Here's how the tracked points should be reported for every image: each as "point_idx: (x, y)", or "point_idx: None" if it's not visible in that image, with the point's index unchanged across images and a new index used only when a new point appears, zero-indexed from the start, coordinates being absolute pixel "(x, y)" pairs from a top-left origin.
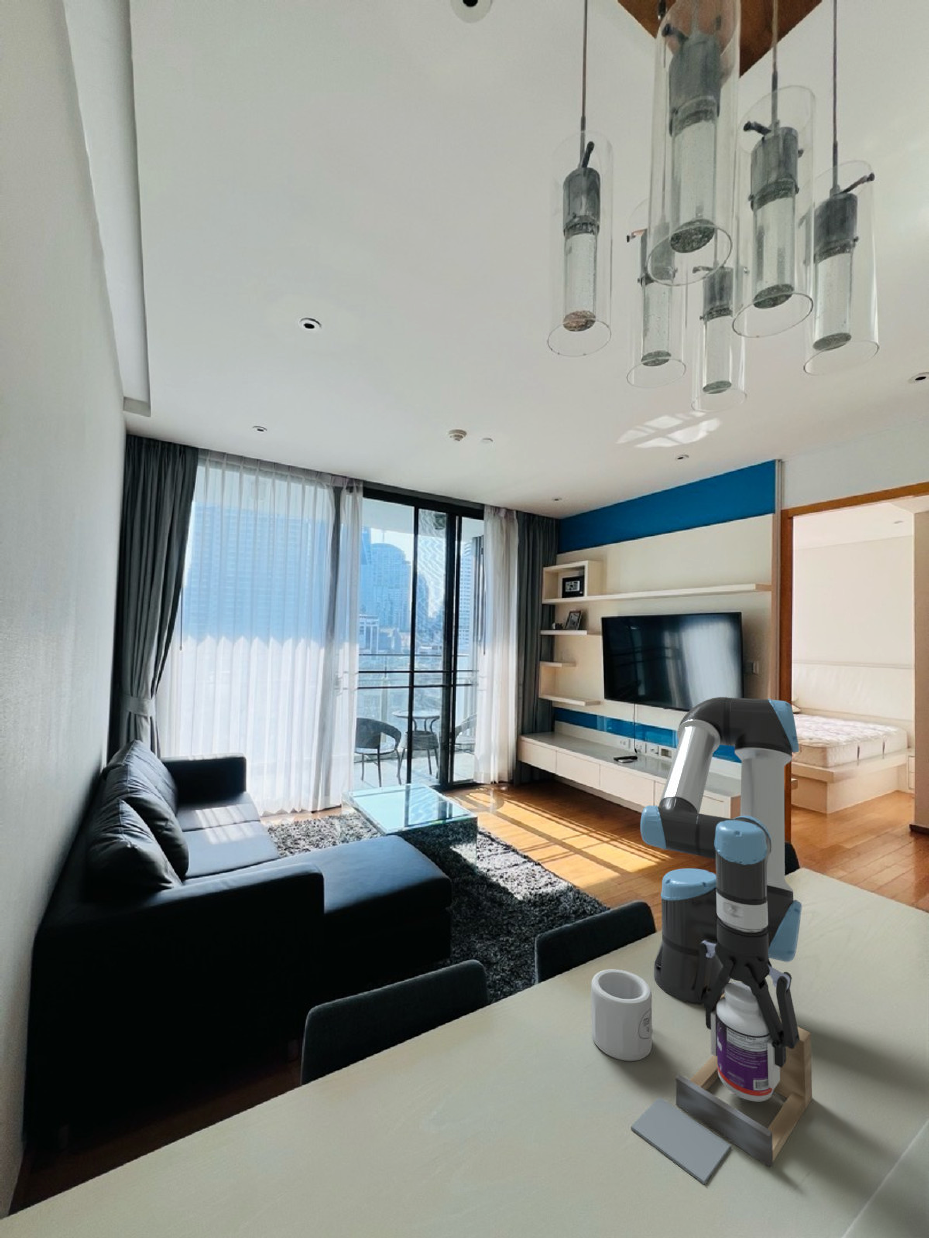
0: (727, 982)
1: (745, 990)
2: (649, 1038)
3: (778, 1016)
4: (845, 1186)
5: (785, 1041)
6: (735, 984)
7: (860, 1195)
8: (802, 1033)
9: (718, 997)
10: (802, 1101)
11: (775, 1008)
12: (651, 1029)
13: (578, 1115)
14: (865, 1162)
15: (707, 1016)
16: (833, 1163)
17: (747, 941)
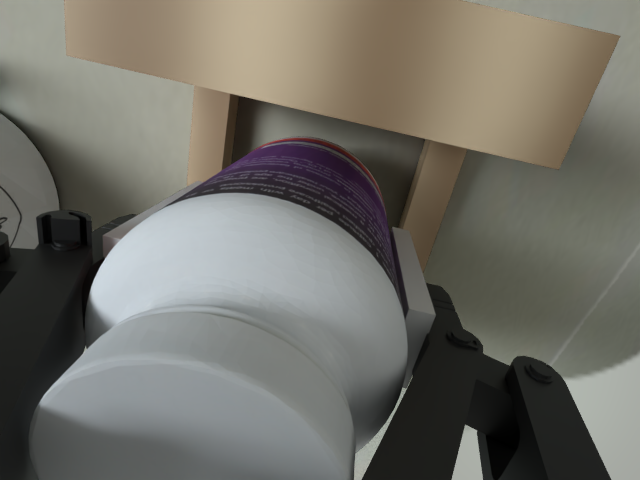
0: (20, 445)
1: (191, 452)
2: (24, 204)
3: (464, 418)
4: (527, 330)
5: (478, 439)
6: (85, 413)
7: (554, 335)
8: (562, 85)
9: (71, 362)
10: (462, 157)
11: (455, 457)
12: (2, 170)
13: None
14: (591, 239)
15: None
16: (512, 285)
17: None
